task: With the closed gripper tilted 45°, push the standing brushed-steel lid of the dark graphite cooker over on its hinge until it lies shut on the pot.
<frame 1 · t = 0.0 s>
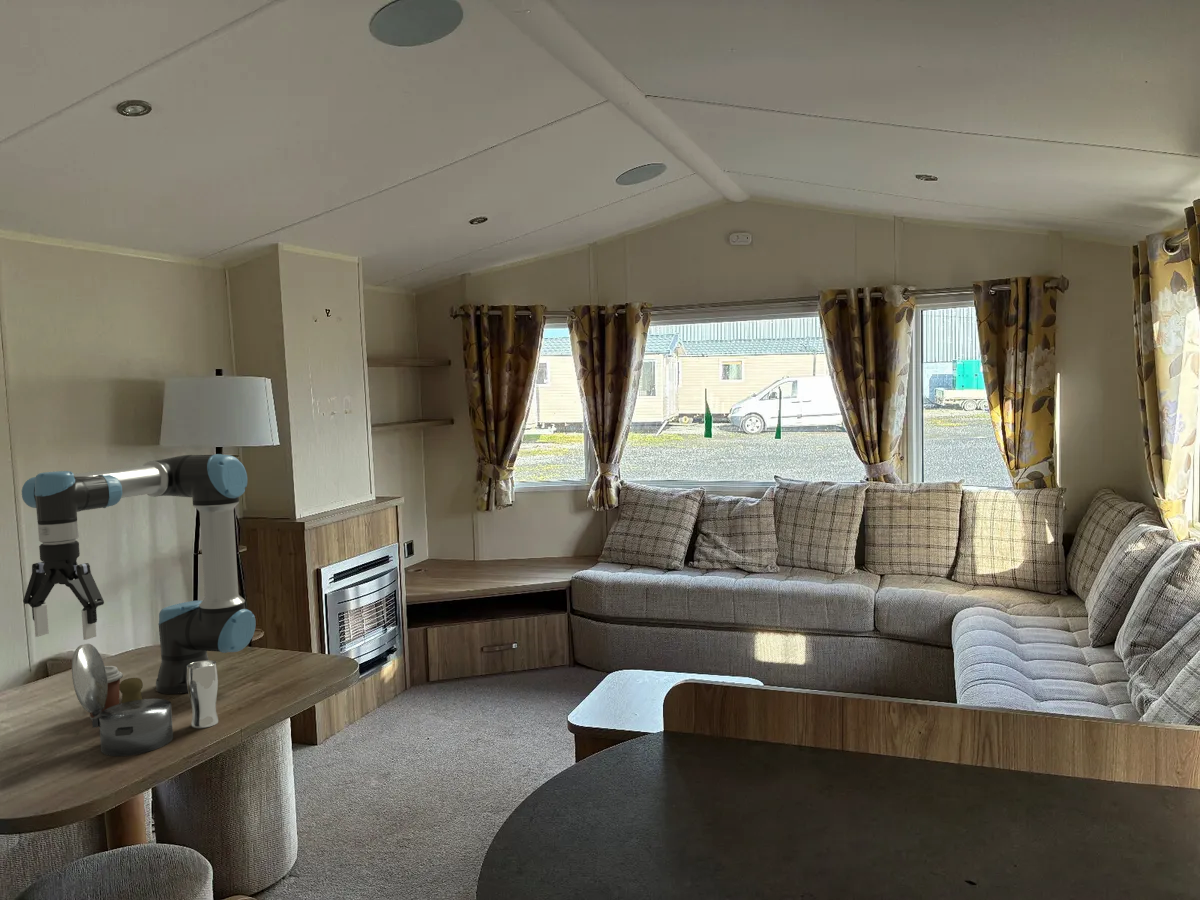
hand: (65, 636, 200), 28 cm above the table, tool pointing down, fingers open, 13 cm apart
coffee cup: (104, 716, 230), on the table
cork: (133, 723, 224), on the table
lid: (88, 679, 208), point 16 cm above the table, hinge at 100.0°
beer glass: (205, 724, 222), on the table
cooker pot: (137, 743, 210), on the table
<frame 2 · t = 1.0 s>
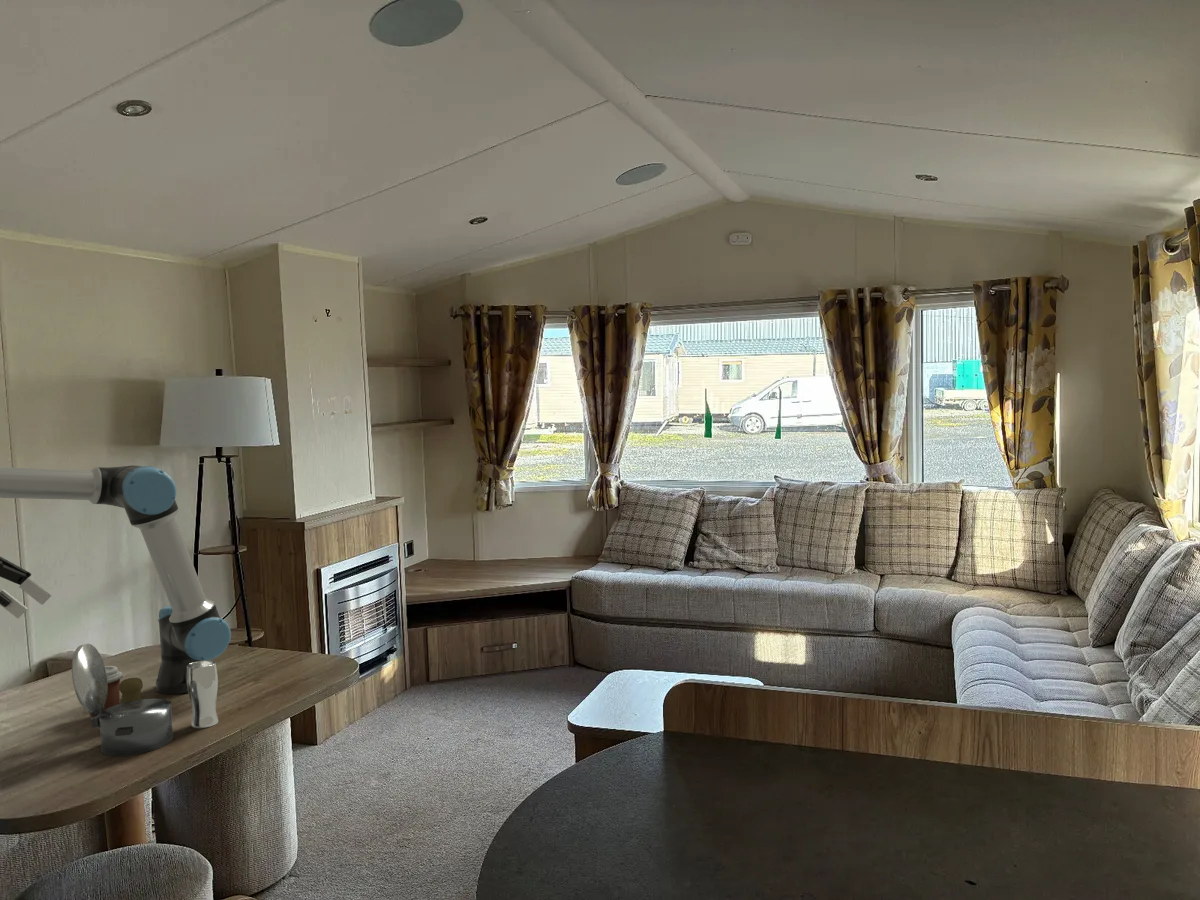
hand: (35, 606, 204), 34 cm above the table, tool tilted 45°, fingers open, 13 cm apart
nothing on the table moved.
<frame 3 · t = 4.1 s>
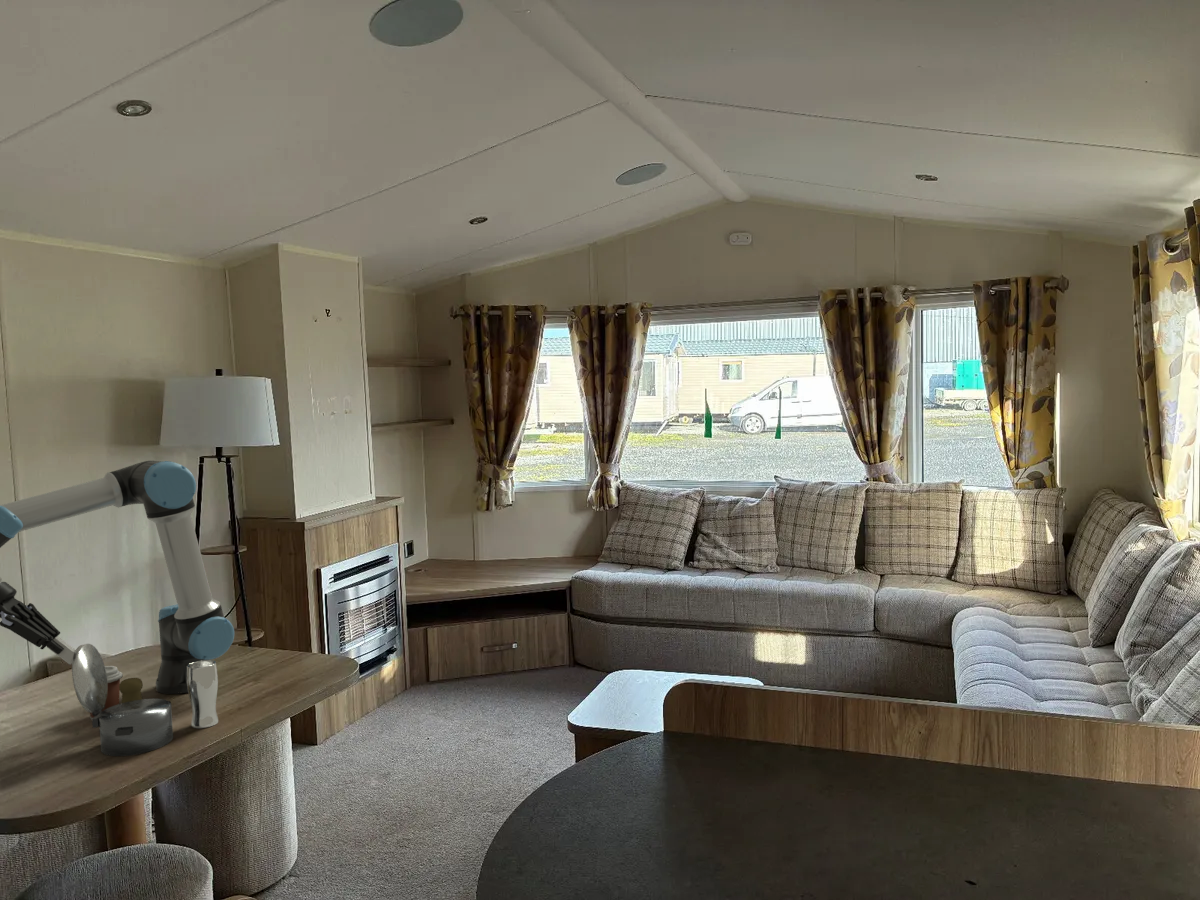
hand: (75, 659, 207), 21 cm above the table, tool tilted 45°, fingers closed
lid: (88, 679, 208), point 16 cm above the table, hinge at 99.8°, touching gripper
everything else where it was.
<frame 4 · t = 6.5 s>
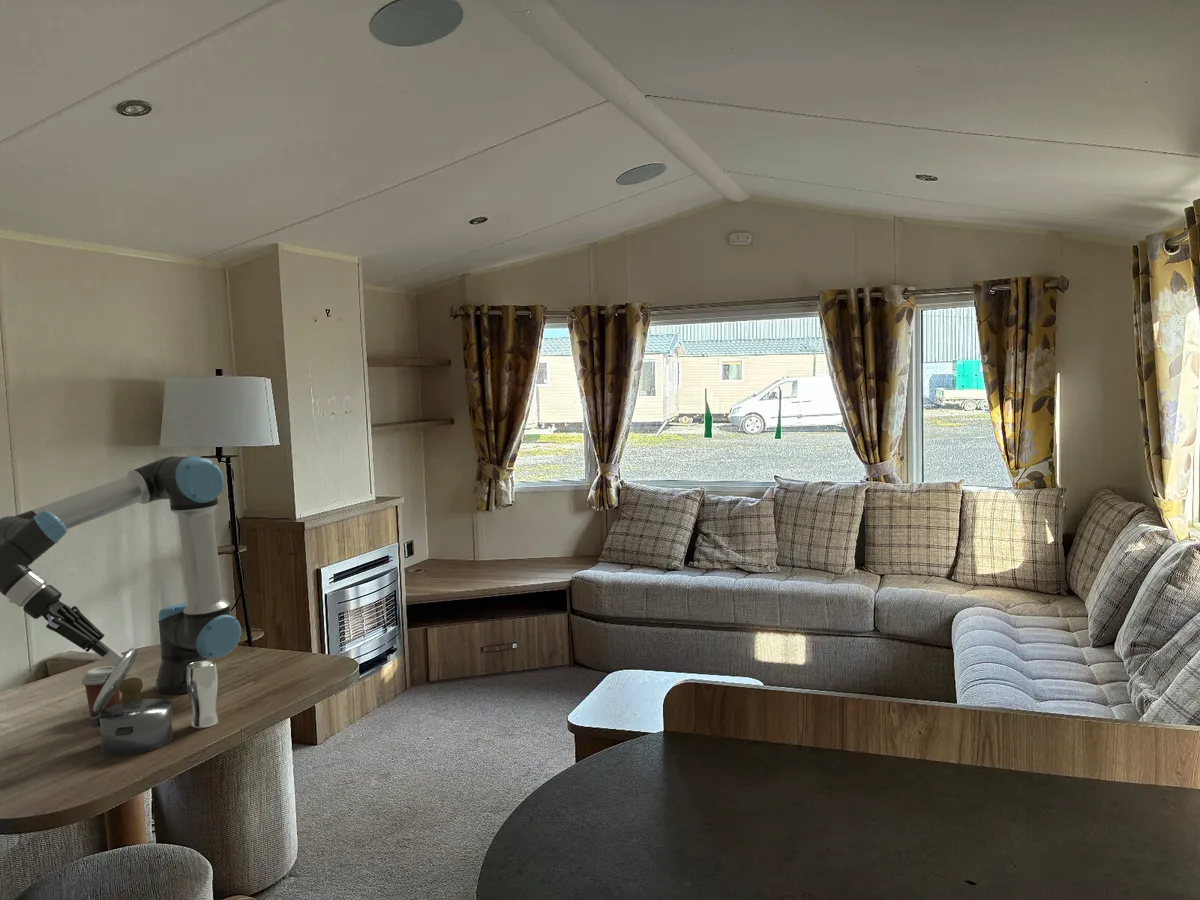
hand: (119, 661, 209), 20 cm above the table, tool tilted 45°, fingers closed
lid: (112, 680, 209), point 15 cm above the table, hinge at 59.2°, touching gripper
everything else where it was.
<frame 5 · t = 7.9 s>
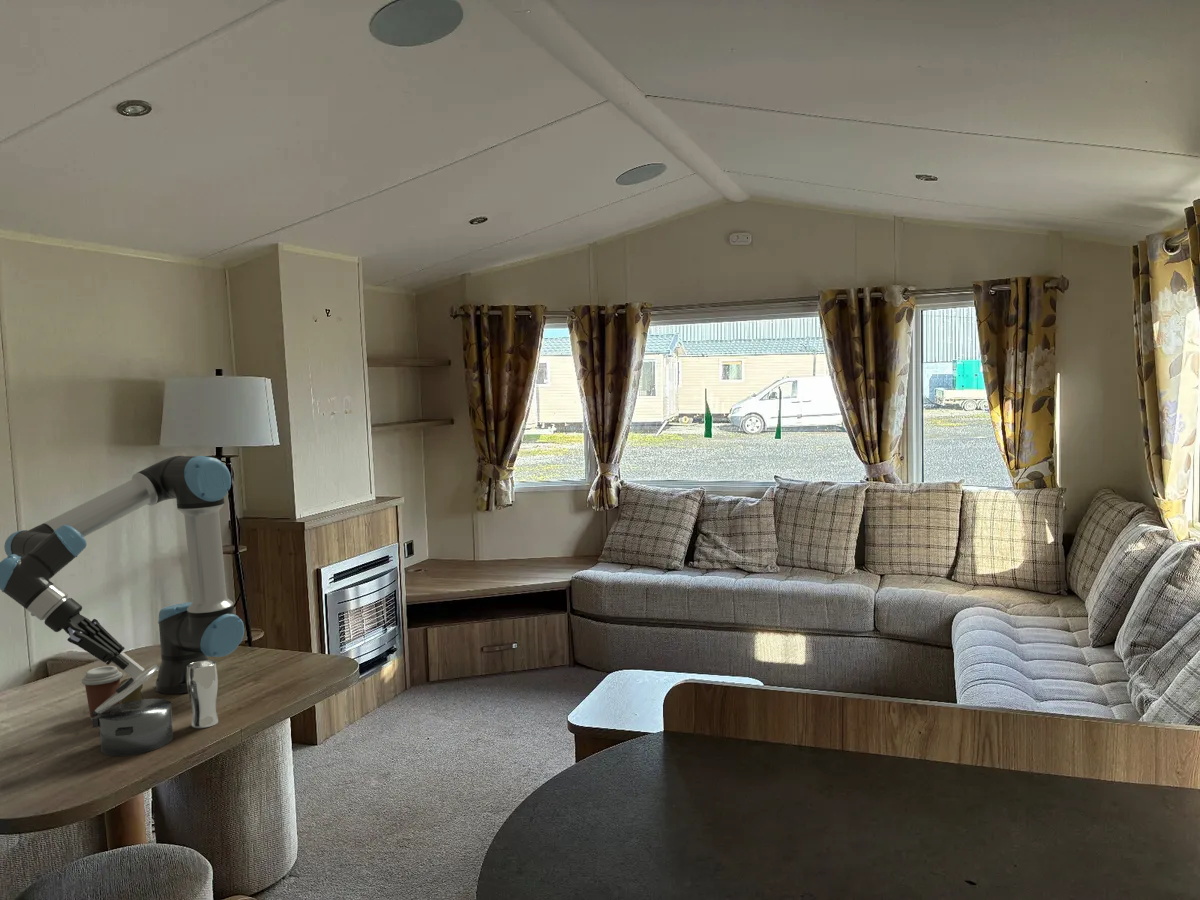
hand: (139, 674, 210), 16 cm above the table, tool tilted 45°, fingers closed
lid: (125, 688, 209), point 13 cm above the table, hinge at 33.7°, touching gripper
everything else where it was.
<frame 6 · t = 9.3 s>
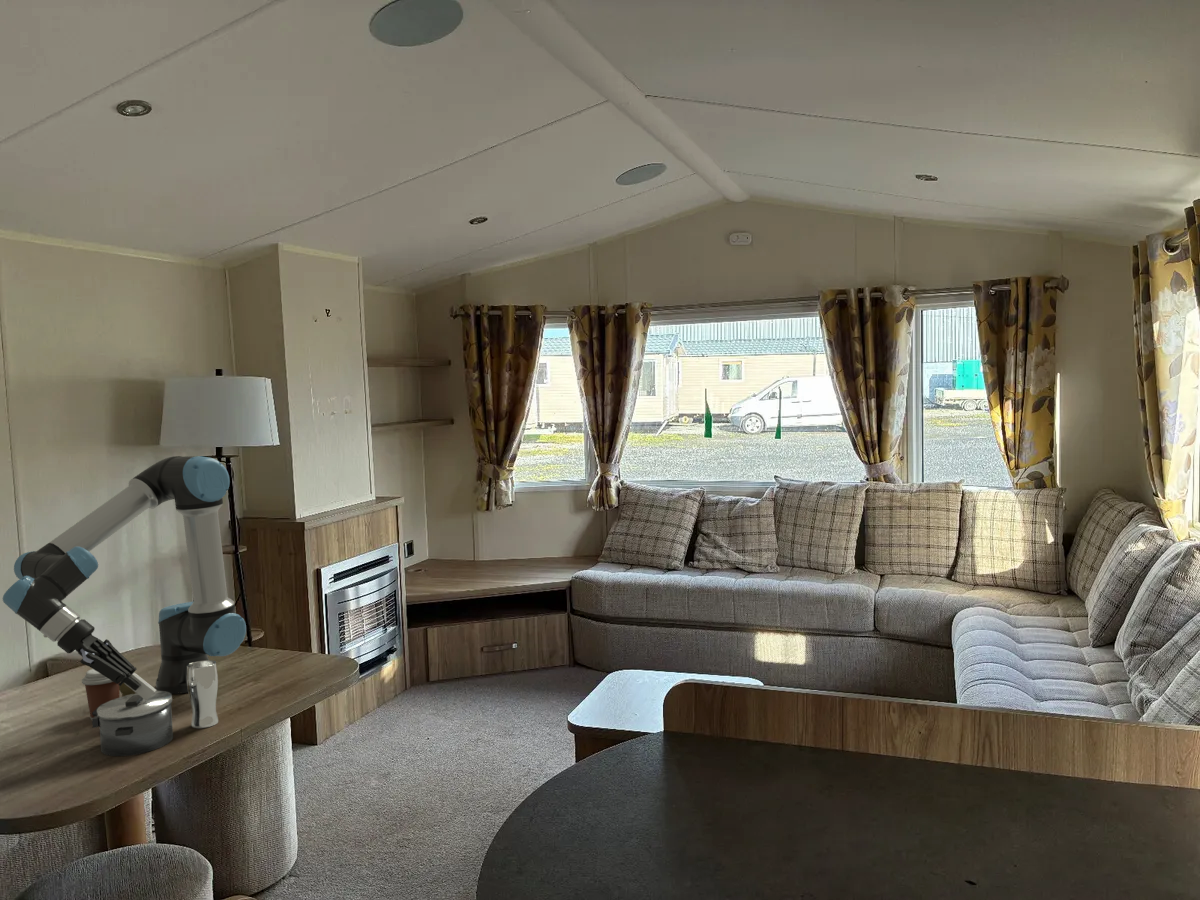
hand: (151, 695, 210), 11 cm above the table, tool tilted 45°, fingers closed
lid: (133, 703, 210), point 10 cm above the table, hinge at 2.8°, touching gripper
everything else where it was.
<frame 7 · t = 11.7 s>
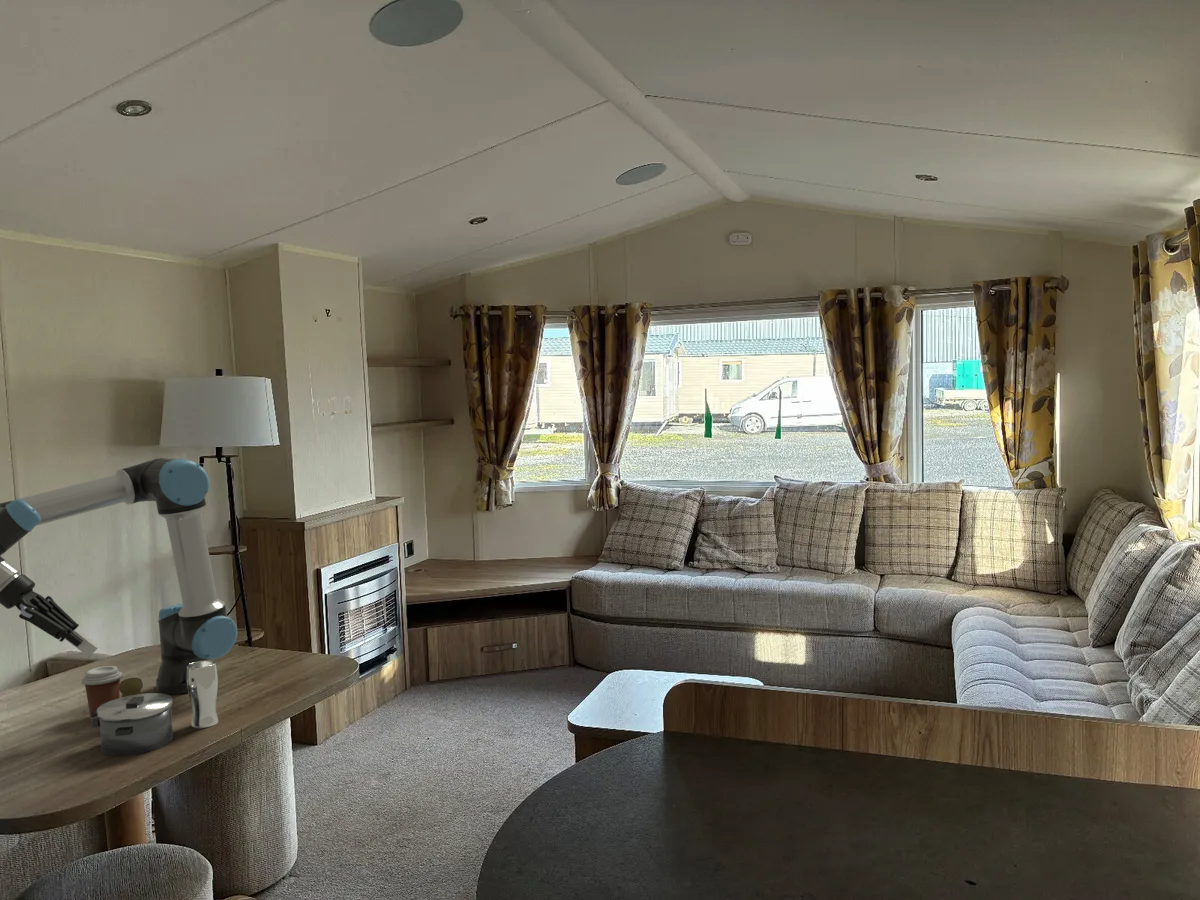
hand: (94, 651, 207), 22 cm above the table, tool tilted 45°, fingers closed
lid: (133, 704, 210), point 9 cm above the table, hinge at -0.3°
everything else where it was.
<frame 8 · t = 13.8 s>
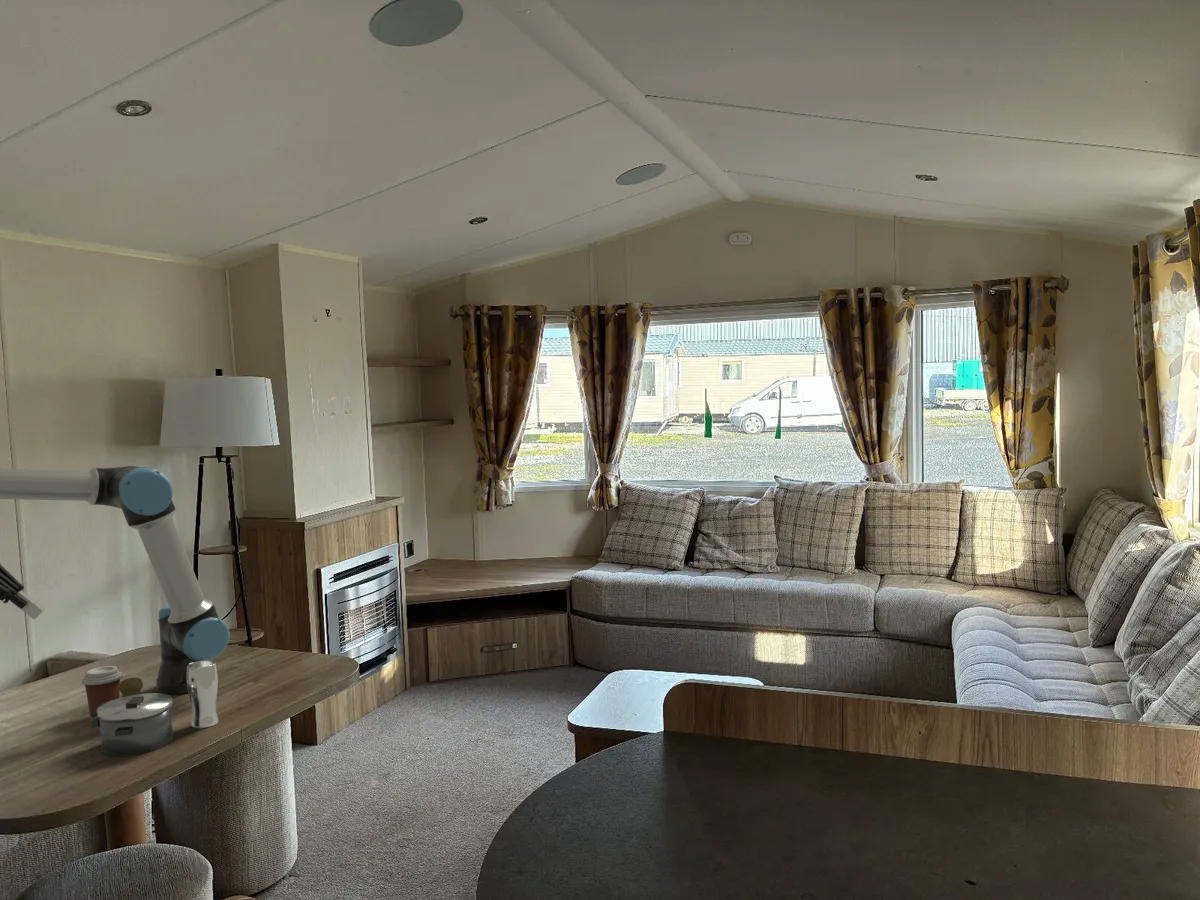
hand: (39, 614, 205), 32 cm above the table, tool tilted 45°, fingers closed
nothing on the table moved.
at the end: lid at +0° (first picture: +100°); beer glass tilted 0° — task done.
